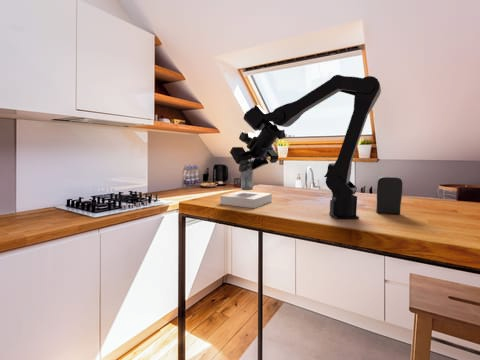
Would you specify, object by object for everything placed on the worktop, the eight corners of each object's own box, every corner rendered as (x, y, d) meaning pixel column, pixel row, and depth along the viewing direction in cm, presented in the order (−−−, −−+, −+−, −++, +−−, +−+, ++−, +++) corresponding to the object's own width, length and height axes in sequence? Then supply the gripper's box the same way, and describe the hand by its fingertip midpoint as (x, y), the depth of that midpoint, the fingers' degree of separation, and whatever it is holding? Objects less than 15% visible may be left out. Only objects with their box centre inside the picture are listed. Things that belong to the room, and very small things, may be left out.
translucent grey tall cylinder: (252, 188, 103) (252, 159, 102) (253, 190, 99) (253, 159, 98) (240, 188, 103) (240, 159, 102) (241, 190, 99) (241, 159, 98)
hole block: (271, 201, 104) (271, 193, 104) (254, 208, 92) (254, 199, 92) (240, 198, 111) (240, 190, 111) (220, 203, 99) (220, 195, 99)
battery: (399, 212, 86) (401, 176, 85) (401, 215, 83) (403, 177, 81) (374, 210, 89) (376, 175, 87) (375, 213, 85) (377, 176, 84)
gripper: (273, 125, 101) (253, 155, 111) (233, 122, 90) (214, 155, 99) (288, 146, 96) (266, 175, 106) (248, 146, 84) (227, 178, 94)
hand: (244, 170), depth 101 cm, fingers closed on translucent grey tall cylinder, 4 cm apart
